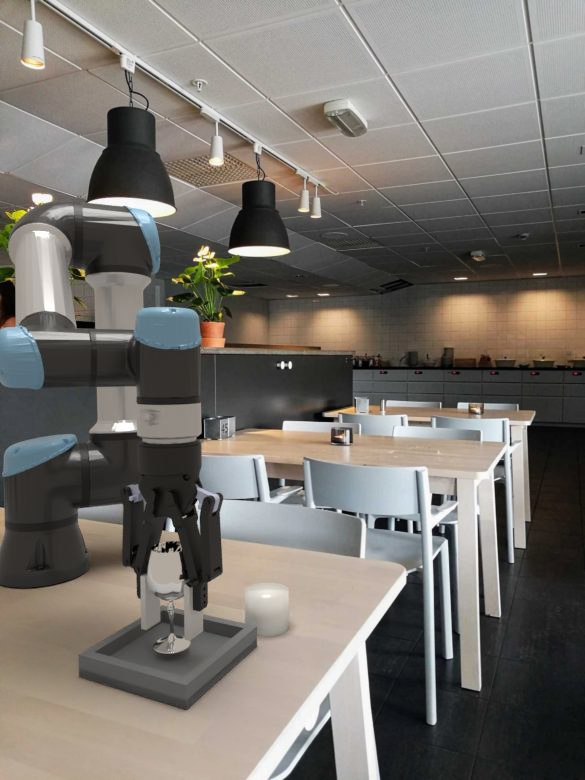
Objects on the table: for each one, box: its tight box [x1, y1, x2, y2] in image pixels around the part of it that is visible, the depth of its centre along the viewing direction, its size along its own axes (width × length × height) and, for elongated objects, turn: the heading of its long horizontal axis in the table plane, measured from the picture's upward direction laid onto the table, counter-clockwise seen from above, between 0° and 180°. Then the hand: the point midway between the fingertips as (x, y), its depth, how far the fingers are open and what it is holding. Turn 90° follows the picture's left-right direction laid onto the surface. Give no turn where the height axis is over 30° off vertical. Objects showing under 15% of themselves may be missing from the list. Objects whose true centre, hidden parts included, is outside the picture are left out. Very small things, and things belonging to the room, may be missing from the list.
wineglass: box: [146, 540, 191, 654], centre depth 70 cm, size 6×6×12 cm
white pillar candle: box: [244, 582, 290, 638], centre depth 79 cm, size 6×6×5 cm
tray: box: [78, 604, 258, 710], centre depth 70 cm, size 15×15×3 cm
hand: (171, 629), depth 70 cm, fingers closed on wineglass, 6 cm apart
